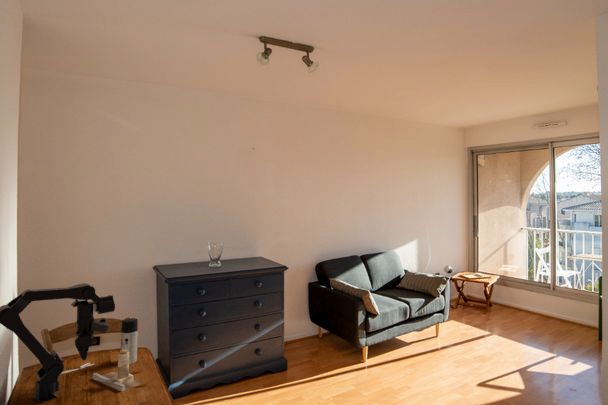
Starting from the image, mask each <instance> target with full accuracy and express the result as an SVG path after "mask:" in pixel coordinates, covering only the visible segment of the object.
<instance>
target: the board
mask: <svg viewBox="0 0 608 405" xmlns="http://www.w3.org/2000/svg"><path fill="white" fill-rule="evenodd" d="M115 376H118V371H110V372H108V373H105V374H102V375H101V374H99V373H97V372H93V373H92V380H93V381H96V382H99V383H101V384H104V385H105V386H107V387H110V388H112V389H114V390H117V391H118V392H121V393H122V392H124V391H127V390H129V389H131V388H134V387H137V386H139V385H141V384H143V382H141V381H140V380H136V379H134V381H133V382H132V383H129V384H127V385H123V384H121V383H119V382H116V381H115V380H113V377H115Z"/></svg>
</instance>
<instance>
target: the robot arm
mask: <svg viewBox="0 0 608 405" xmlns="http://www.w3.org/2000/svg"><path fill="white" fill-rule="evenodd" d="M63 299H70V300H74V301H73V302H72V303H70V305H71V306H72V308H76V331H75V334H76V336H75V337H74V346H75V348H76V350H77V351H78V353H79V356H80V358H81V359H82V361H86V360H87V357H88V352H89V348H90V347H91V346H92V345H94V343H95V335H94V333H95V332H97V333H98V332H99V333H102V334H107V333H108V330H109V327H110V323H109V322H108V321H106V318H103V317H100V318H99V320H95V317H94V312H95V313H97V314H98V315H101V314H107V313H114V312H115V311H116V310H115V309H116V304H115V299H114V296H113V294H109V295H104V296H99V295H98V294H96V288H95V287H94V286H93V285H91V284H90V283H86V282H85V283H83V282H82V283H79V284H78V283H77V284H75V285H72V286H67V287H54V288H43V289H42V288H40V289H30V288H29V289H25V290H23V292H21V293H20V294H19V295H18V296H16V297H14V298H13V299H12V300H10V301H9V302H8V303H6V304H3V305H1V306H0V324H1V325H2V326H3V327H5V328H6V329H7V330H9V331H11V332H12V333H14V334H15V335H16V336H17V337H18V339H19V340H20V341H21V342H22V343H23V344H24V345H25V347H27V348H28V349H29V352H31V354H33V356H35V358H36V359H37V360H38V362H39V364H40V365H41V367H40V368H39V369H38V371H37V372H35V376H36V378H37V379H38V380H37V381H35V391H34V394H35V395H32V398H33V399H34V400H36V401H37V402H39V403H43V402H46V401H48V400H49V401H50V400H51V399H54V398H57V396H56V395H55V393H56V392H59V390H60V381H59V376H61V375H62V374H61V373H62V372H64V369H65V365H64V362H65V360H63V358H62V357H61V356H60V355H58V353H57V351H55V349H53V350H52V351H51V352H50V351H49V350H47V349H46V348H45V347H44V346H43V344H42V343H41V341H40V340H38V339H37V337H36V336H35V335H34V334H33V333H32V332H31V330H30V329H29V328H28V327H27V326H26V325H25V324H24V321H23V320H22V318H21V317H20V314H21V313H22V312H23V311H24V310H25V309H26V308H27V307H28V306H29V305H30V304H31V303H32V302H38V301H50V300H63Z"/></svg>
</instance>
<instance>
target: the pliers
mask: <svg viewBox="0 0 608 405" xmlns="http://www.w3.org/2000/svg"><path fill="white" fill-rule="evenodd" d="M93 365H94V363H92V364H91V362H88V363H85V364H82V365H81V366H79V368H75V369H69V370H68V369H67V370H63V372H62V373H61V374H60V375H63V374H68V373H69V374H70V373H72V372H74V371H77V370H80V369H85V368H86V367H91V366H93Z"/></svg>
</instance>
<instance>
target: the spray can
mask: <svg viewBox="0 0 608 405" xmlns="http://www.w3.org/2000/svg"><path fill="white" fill-rule="evenodd" d="M138 320H139V319H138V318H136V317H131V318H129V317H128V318H124V319H122V320H121V331H120V332H121V333H120V334H121V336H120V337H121V340H120V344H121V345H120V350H122V349H127V352H129V365H131V364H133V363H136V362H137V360H138V333H139V332H138V329H139V328H138V327H139V325H138V322H139V321H138Z"/></svg>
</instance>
